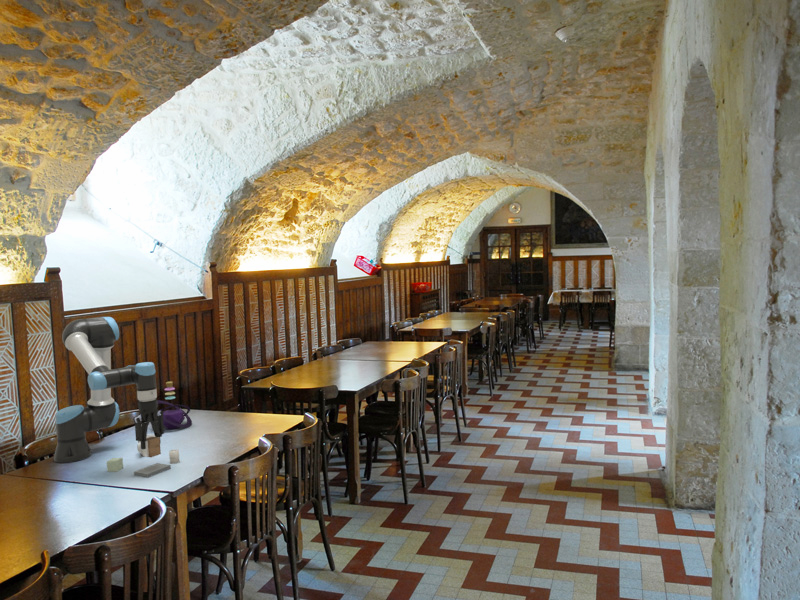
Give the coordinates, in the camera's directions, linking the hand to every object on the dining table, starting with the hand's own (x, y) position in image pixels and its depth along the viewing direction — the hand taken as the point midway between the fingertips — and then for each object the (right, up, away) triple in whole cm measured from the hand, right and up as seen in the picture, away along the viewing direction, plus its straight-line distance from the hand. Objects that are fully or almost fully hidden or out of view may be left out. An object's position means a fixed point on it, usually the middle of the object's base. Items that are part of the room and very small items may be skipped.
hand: (151, 454), depth 259 cm
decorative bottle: (-18, -4, +73) cm, 75 cm away
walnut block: (0, 0, 0) cm, 0 cm away
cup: (-13, -7, +26) cm, 30 cm away
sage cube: (-18, -8, +6) cm, 21 cm away
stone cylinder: (+5, -7, +13) cm, 15 cm away
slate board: (0, -8, +1) cm, 8 cm away
